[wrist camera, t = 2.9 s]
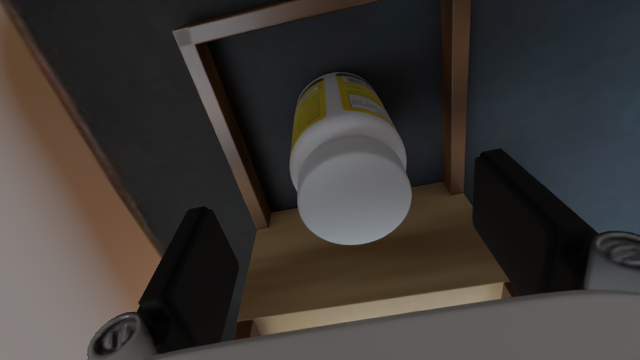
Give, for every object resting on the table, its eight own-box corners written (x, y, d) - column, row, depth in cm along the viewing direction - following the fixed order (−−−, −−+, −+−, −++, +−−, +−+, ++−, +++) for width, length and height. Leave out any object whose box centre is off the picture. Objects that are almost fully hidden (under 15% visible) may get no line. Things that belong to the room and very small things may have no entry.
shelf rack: (183, 25, 15) (53, 78, 8) (458, -44, 14) (629, -61, 6) (302, 317, 28) (298, 446, 21) (452, 295, 27) (507, 424, 19)
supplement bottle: (305, 156, 20) (301, 261, 13) (286, 80, 17) (266, 158, 10) (384, 142, 19) (425, 242, 12) (376, 61, 17) (422, 129, 10)
